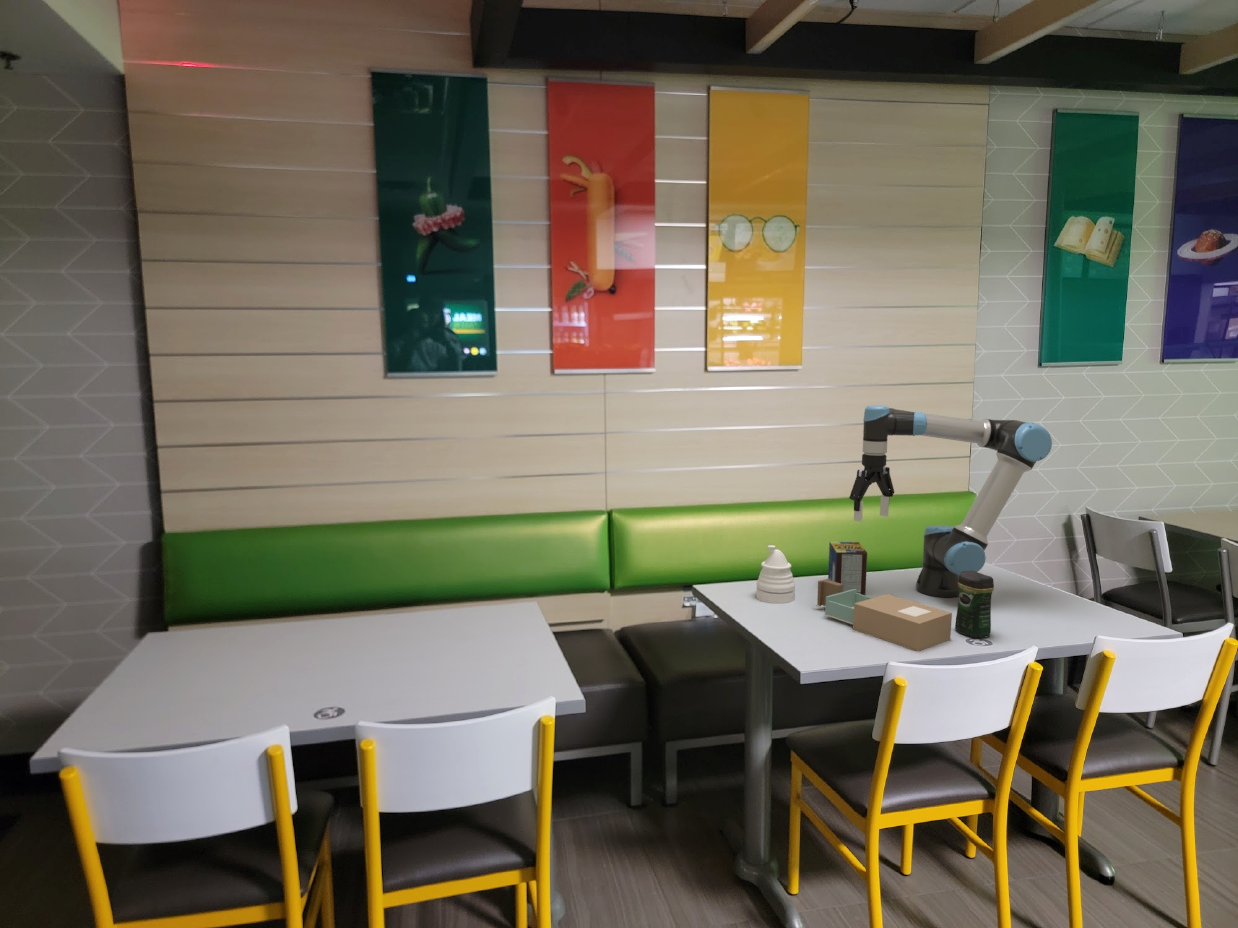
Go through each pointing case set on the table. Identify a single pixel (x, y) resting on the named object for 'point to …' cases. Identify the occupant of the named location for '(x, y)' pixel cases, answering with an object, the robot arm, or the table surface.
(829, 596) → the tray
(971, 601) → the coffee jar
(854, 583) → the protein box
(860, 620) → the cardboard box
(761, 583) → the honey pot
